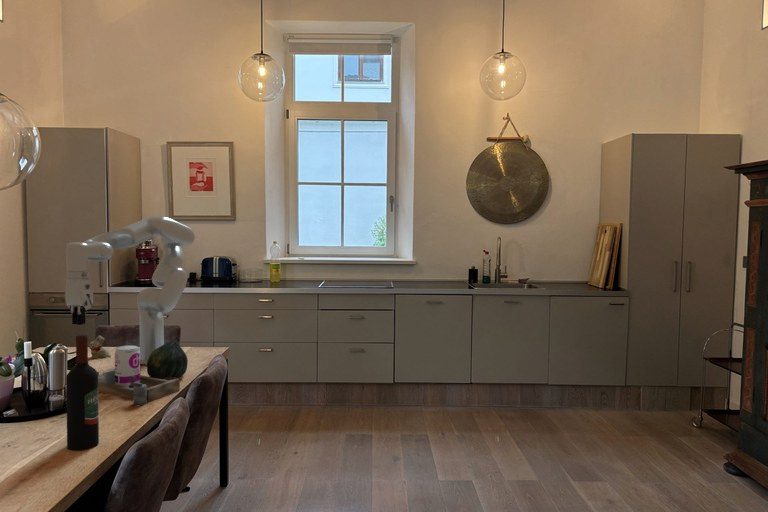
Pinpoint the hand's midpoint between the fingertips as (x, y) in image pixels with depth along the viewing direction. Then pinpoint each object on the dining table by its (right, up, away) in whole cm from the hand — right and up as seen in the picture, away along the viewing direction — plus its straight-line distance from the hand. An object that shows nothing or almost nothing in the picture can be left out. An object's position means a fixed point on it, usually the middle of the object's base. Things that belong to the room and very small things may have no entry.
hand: (78, 323), depth 207 cm
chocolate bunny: (-9, -19, +34) cm, 40 cm away
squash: (+31, -22, +6) cm, 38 cm away
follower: (+11, -21, -4) cm, 24 cm away
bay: (+26, -23, -13) cm, 37 cm away
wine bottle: (+33, -26, -58) cm, 72 cm away
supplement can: (+22, -23, -9) cm, 33 cm away
